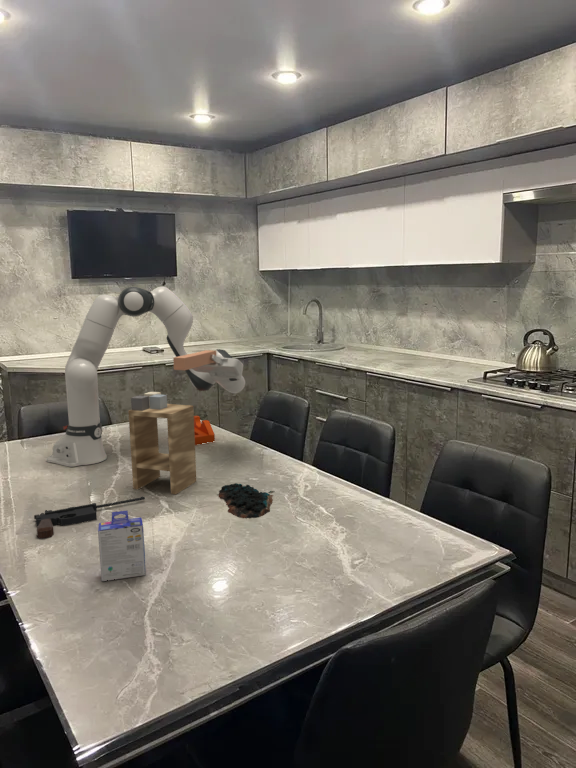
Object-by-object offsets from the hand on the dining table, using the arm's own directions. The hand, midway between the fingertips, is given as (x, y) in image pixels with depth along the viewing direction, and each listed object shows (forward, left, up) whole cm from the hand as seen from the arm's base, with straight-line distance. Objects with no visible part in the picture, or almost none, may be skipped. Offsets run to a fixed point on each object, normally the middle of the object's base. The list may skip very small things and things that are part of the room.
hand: (204, 356), depth 208 cm
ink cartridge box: (+20, -78, -40) cm, 90 cm away
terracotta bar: (0, -6, -2) cm, 7 cm away
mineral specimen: (+28, -26, -41) cm, 56 cm away
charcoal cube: (-10, -26, -14) cm, 31 cm away
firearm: (-8, -53, -41) cm, 67 cm away
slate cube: (-5, -23, -14) cm, 27 cm away
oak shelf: (-4, -23, -40) cm, 46 cm away
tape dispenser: (-25, +31, -41) cm, 57 cm away
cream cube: (-10, -19, -14) cm, 26 cm away
